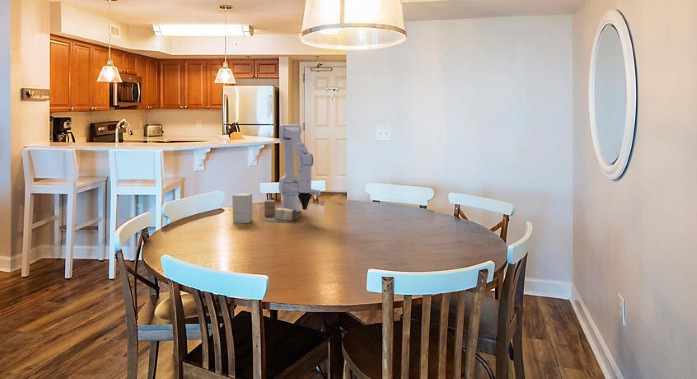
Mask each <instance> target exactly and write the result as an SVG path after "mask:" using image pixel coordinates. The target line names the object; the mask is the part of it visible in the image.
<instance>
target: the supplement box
mask: <svg viewBox="0 0 697 379" xmlns="http://www.w3.org/2000/svg"><path fill="white" fill-rule="evenodd" d="M231 198H232V199H231V200H232V223H233V224H236V223H237V224H249V223H251V222H252V221H253V220H254V219H253V217H254V216H253V214H254V213H253V193H243V192H242V193H241V192H238V193H235V194H233V195H232V197H231Z"/></svg>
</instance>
